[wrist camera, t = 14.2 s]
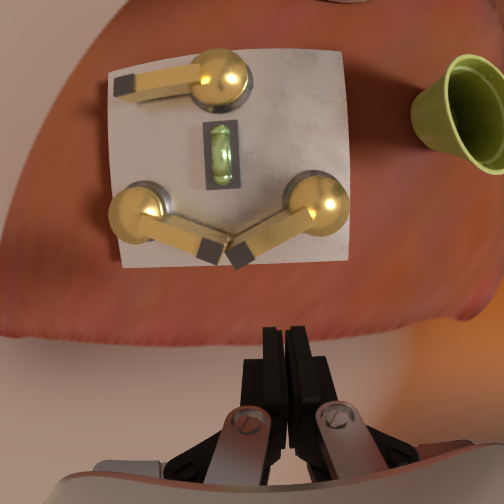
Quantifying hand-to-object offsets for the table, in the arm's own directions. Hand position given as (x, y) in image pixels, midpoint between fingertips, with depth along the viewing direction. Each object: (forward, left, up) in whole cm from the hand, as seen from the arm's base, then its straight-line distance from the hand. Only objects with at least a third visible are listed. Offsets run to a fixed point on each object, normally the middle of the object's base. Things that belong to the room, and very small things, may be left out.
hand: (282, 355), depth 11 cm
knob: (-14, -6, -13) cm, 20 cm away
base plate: (-8, -3, -16) cm, 18 cm away
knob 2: (-3, +1, -13) cm, 13 cm away
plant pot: (-12, +17, -16) cm, 26 cm away
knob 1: (-3, -8, -13) cm, 16 cm away
